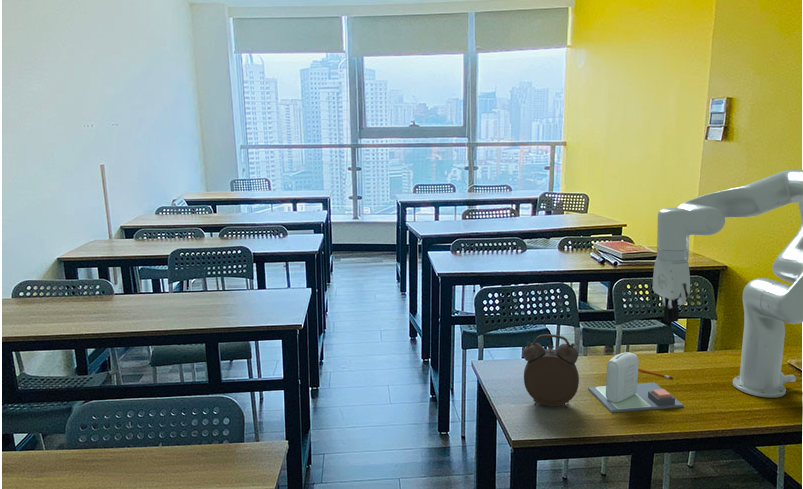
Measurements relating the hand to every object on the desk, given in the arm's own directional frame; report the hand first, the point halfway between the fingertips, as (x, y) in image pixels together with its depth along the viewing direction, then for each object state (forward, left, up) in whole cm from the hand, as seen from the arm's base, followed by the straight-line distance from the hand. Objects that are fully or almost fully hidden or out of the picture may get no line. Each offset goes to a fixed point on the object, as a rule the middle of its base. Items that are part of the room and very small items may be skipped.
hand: (671, 320), depth 148 cm
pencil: (-2, -17, -22) cm, 28 cm away
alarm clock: (+33, 0, -22) cm, 40 cm away
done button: (+4, +4, -21) cm, 21 cm away
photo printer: (+13, 0, -21) cm, 25 cm away
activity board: (+9, 0, -22) cm, 24 cm away
